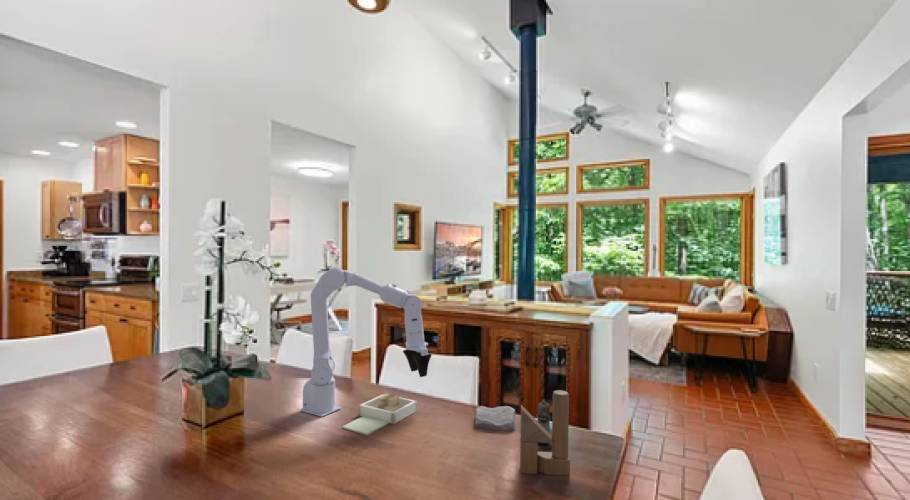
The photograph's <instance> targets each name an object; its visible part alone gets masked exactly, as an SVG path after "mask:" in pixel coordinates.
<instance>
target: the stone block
mask: <svg viewBox="0 0 910 500" xmlns="http://www.w3.org/2000/svg"><path fill="white" fill-rule="evenodd" d="M474 424H475V426H476V427H479V428H484V429H489V428H490V429H491V430H495V429H496V430H495V431H501V430H509V431H515V430H516V428H517V425H516V409H515V408H514V407H511V406H508V405H504V406H495V407H492V408H491V407H486V406H484V405H481V406H478V407H477V408H476V409H475V419H474ZM515 427H516V428H515ZM490 429H489V430H490ZM514 429H515V430H514Z"/></svg>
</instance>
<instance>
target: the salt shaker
mask: <svg viewBox="0 0 910 500" xmlns="http://www.w3.org/2000/svg"><path fill="white" fill-rule="evenodd" d="M536 418H537V421H538V422H539V424H540V425H541V426H542V427H543V428H544V429H545V430H546V431H547V432H548V433H549V434H550V435H551V437H552V428H551V425H550V421H551V418H552V417H551V416H550V404H549V403H548V402H546V399H545V398H543V399H542V401H541V402H539V403H538V404H537V414H536ZM537 443H538V446H537V450H540V451H552V443H545V442H537Z"/></svg>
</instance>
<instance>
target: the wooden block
mask: <svg viewBox="0 0 910 500" xmlns="http://www.w3.org/2000/svg"><path fill="white" fill-rule="evenodd" d="M569 404H570V393H569V392H568V391H566V390H563V389H562V390H561V389H558V390H553V391H552V413H551V414H552V415H551V416H552V417H551V418H552V419H551V420H552V423H551V424H552V426H551V429H552V437H551V435H550V434H549V433H548V432H547V431H546V430H545V429H544V428H543V427H542V426H541V425H540V424H539V422H538V419H536V418H535V417H534V416H533V415H532V414H531V413H530V412H529V410H528V409H526V407H524V406H523V404H521V405H520V444H519V445H520V448H519V449H520V451H519V457H520V459H519V467H520V472H521V474H528V475H536V474H538V472H540V473H542V474H544V475H549V476H566V477H567V476H570V475H571V460H570V457H569V427H570V425H569V424H570V422H569V416H570V414H569V413H570V411H569V409H570V405H569ZM537 442H545V443H552V449H551V451H538V449H537V446H538V443H537Z"/></svg>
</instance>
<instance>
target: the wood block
mask: <svg viewBox="0 0 910 500" xmlns="http://www.w3.org/2000/svg"><path fill="white" fill-rule="evenodd" d="M384 394H385V395H383V394H382V395H383V396H381V397H379V398H378V408H379V409H383V410H387V411H392V412H394V411H396V410H398V409H399V397H400V395H396V394H392V393H384Z"/></svg>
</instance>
